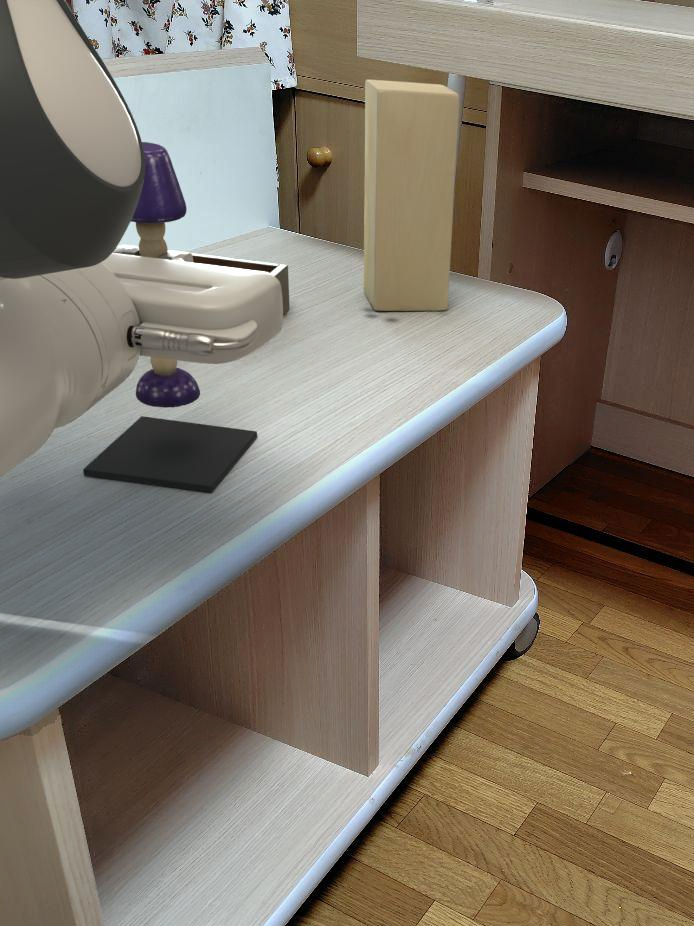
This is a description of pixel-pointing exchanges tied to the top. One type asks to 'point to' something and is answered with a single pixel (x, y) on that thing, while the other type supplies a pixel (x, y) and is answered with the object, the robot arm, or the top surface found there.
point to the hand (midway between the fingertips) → (160, 260)
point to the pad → (172, 454)
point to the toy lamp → (152, 211)
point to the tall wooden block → (409, 194)
